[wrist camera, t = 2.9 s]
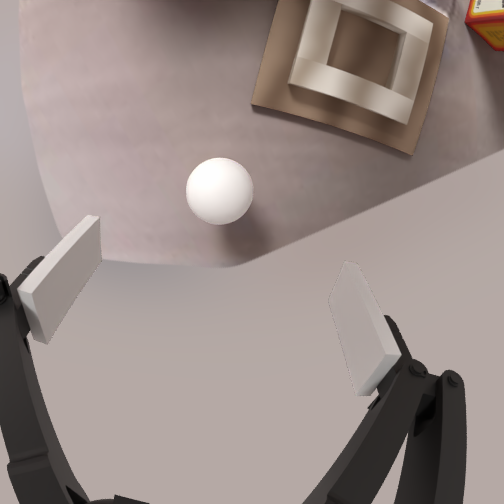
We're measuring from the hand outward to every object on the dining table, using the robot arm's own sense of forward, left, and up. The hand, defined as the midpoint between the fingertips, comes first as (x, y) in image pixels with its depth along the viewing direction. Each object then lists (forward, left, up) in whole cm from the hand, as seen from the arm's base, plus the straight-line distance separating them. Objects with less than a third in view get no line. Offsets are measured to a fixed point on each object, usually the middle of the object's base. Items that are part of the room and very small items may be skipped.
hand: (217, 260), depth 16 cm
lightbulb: (-1, -1, -21) cm, 21 cm away
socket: (+10, +17, -21) cm, 29 cm away
